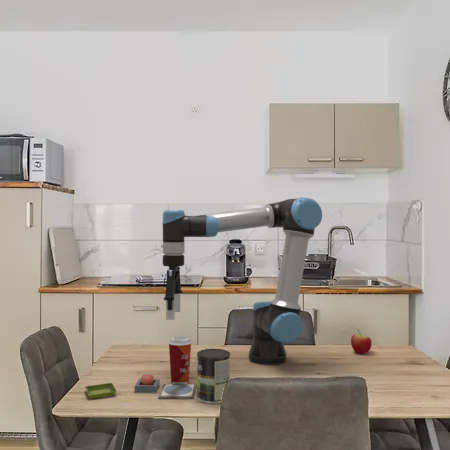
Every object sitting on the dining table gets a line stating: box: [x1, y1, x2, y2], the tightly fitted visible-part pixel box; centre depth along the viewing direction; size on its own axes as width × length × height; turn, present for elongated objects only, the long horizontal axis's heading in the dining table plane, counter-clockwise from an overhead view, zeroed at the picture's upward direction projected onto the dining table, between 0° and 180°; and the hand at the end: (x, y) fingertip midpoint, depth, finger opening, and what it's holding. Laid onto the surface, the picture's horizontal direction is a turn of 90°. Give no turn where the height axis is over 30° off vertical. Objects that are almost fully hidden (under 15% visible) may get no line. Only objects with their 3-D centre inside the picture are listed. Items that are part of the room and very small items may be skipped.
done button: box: [140, 374, 154, 385], centre depth 158 cm, size 4×4×3 cm
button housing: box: [134, 378, 161, 394], centre depth 158 cm, size 7×7×2 cm
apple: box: [350, 328, 372, 355], centre depth 201 cm, size 8×8×10 cm
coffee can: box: [196, 348, 231, 405], centre depth 150 cm, size 10×10×14 cm
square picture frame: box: [157, 382, 197, 400], centre depth 155 cm, size 11×12×1 cm
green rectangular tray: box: [84, 382, 118, 400], centre depth 153 cm, size 9×9×2 cm
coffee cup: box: [167, 335, 193, 384], centre depth 165 cm, size 8×8×15 cm
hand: (173, 315), depth 167 cm, fingers open, 13 cm apart
